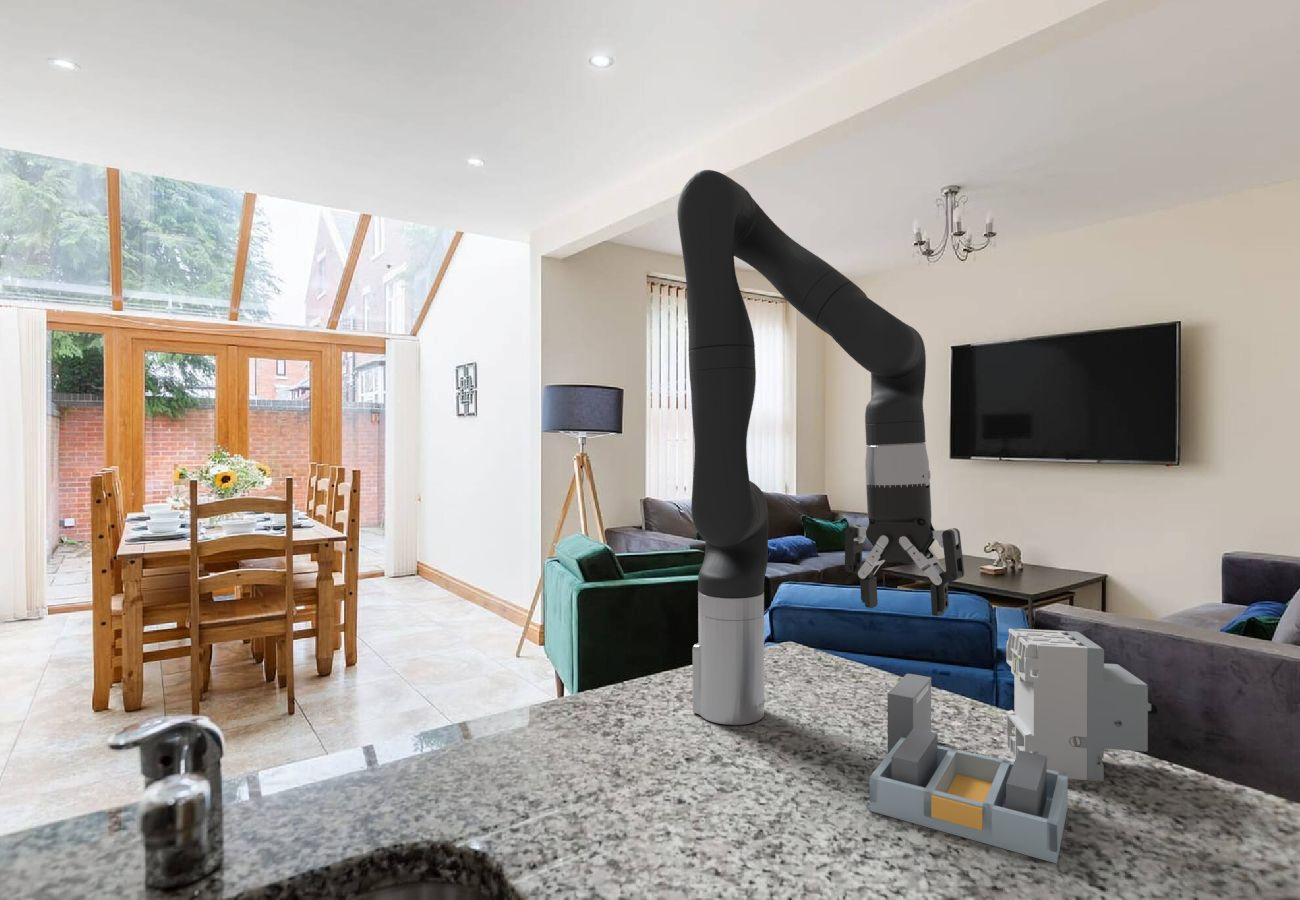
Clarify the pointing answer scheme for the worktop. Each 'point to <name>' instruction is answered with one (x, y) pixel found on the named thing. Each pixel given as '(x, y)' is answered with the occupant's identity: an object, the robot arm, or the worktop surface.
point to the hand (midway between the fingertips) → (904, 610)
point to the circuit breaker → (1072, 702)
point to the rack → (973, 795)
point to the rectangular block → (908, 707)
